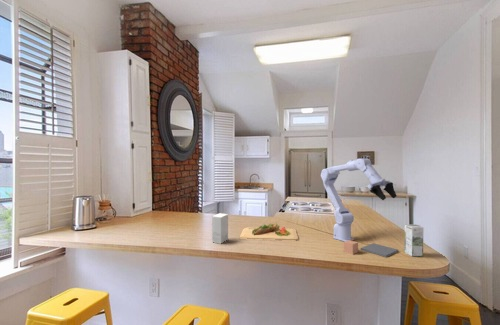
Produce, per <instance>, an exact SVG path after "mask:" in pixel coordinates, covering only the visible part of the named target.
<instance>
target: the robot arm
mask: <svg viewBox="0 0 500 325" xmlns="http://www.w3.org/2000/svg"><path fill="white" fill-rule="evenodd" d="M346 170H347V171H349V172H353V171H359V170H360V171H361V172H362V173H363V174H364V176H365V177H366V178H367V180H368V181H369V184H368V185H367V186H366V187H367V188H368V190H369V192H370V193H372V194H374V195H375V196H377V197H378V198H379V199H381V201H385V200H386V199H387V197H386V195H385V194H384V191H385V192H386V193H387V194H389V196H390V197H391V199H394V198H396V197H397V193H396V191H395V188H394V183H393V182H391V181H390V180H386V179H385V178H383V177H381V175H380V174H379V173H378V171H377V170H376V169H375V168H374V166H373V165H372V161H371V160H370V159H369V158H357V159H354V160H353V159H350V160H349V161H347V162H346V164H339V165H334V166H329V167H327V168H323V169H322V170H321V173H320V178H321V180H322V183H323V187H324V190H325V191H326V193H327V195H328V197H329V199H330V201H331V204H332V205H333V208H334V210H335V211H334V213H333V215H334V220H335V222H336V223H334V225H333V237H332V239H335V240H338V241H341V242H345V241H348V240H350V241H354V240H355V238H353V237H352V223H353V222H354V214H353V213H352V212H350V210H349V208H347V207H345V205H344V203H343V201H342V199H341V197H340V195H339V194H338V192H337V189H336V188H335V185H334V183H336V181H337V179H338V177H339V175H340V173H341V172H342V171H346ZM382 187H384V188H383V190H382Z"/></svg>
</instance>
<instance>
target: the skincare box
mask: <svg viewBox="0 0 500 325" xmlns="http://www.w3.org/2000/svg"><path fill="white" fill-rule="evenodd" d="M211 222H212V223H211V226H212V228H211V229H212V230H211V232H212V233H211V243H212V242H215V243H214V244H217V243H222V244H224V243H225V242H227V241H229V214H228V213H221V212H219V213H216V214H215V215H212V217H211ZM226 240H227V241H226ZM224 241H225V242H224ZM223 242H224V243H223Z"/></svg>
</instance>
